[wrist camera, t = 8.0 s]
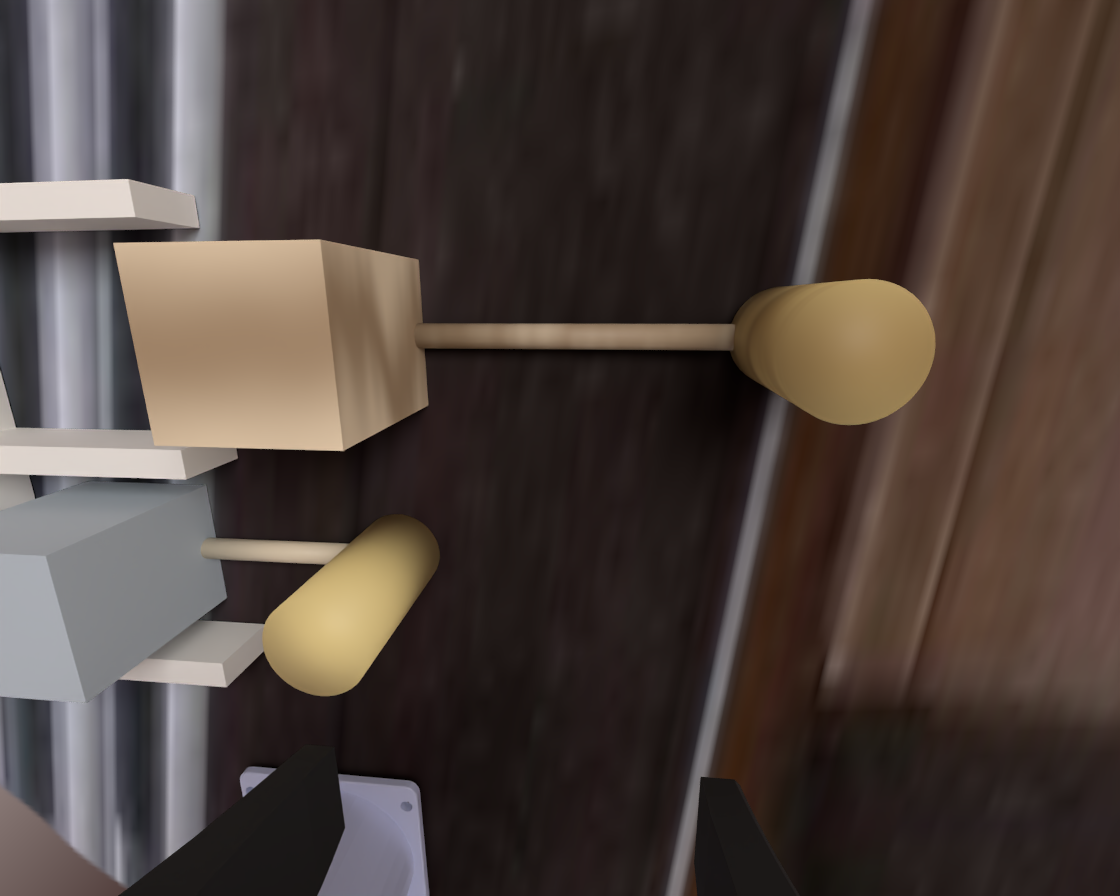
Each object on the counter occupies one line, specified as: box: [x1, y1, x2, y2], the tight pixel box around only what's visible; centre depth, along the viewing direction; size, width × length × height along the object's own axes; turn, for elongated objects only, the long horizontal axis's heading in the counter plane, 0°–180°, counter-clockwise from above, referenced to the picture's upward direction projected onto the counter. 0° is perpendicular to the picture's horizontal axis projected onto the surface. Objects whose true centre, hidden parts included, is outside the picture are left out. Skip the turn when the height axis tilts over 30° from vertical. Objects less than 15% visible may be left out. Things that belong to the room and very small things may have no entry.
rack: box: [0, 179, 265, 687], centre depth 19 cm, size 17×10×4 cm, turn 1°
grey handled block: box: [0, 481, 440, 703], centre depth 18 cm, size 5×14×6 cm, turn 91°
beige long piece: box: [113, 240, 935, 451], centre depth 15 cm, size 5×18×6 cm, turn 90°
